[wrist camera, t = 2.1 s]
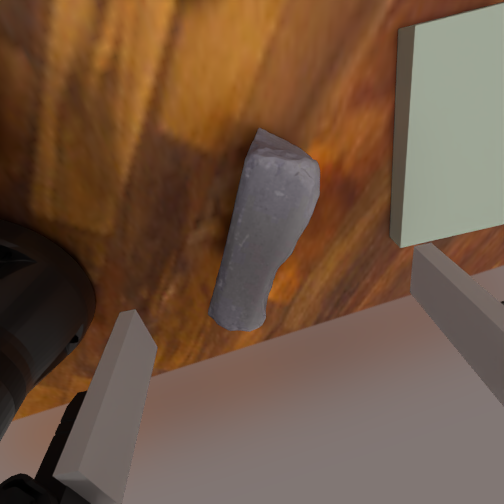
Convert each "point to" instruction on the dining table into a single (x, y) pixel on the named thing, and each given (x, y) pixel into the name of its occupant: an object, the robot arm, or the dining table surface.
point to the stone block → (263, 228)
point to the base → (449, 127)
